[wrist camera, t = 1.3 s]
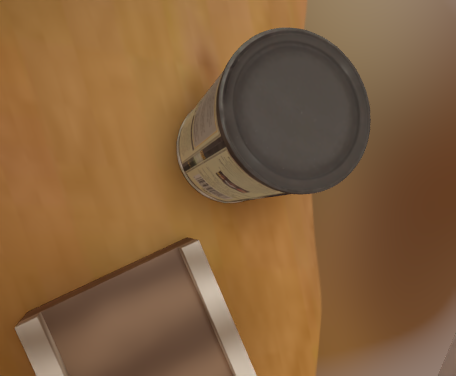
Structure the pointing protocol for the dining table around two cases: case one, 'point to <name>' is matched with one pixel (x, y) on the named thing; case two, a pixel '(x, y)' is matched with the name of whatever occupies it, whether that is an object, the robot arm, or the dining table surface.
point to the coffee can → (276, 120)
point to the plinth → (139, 323)
